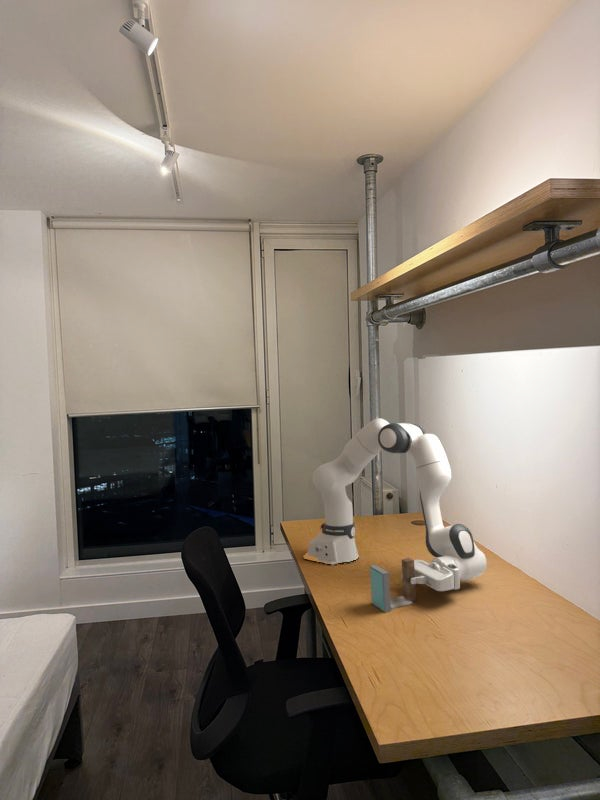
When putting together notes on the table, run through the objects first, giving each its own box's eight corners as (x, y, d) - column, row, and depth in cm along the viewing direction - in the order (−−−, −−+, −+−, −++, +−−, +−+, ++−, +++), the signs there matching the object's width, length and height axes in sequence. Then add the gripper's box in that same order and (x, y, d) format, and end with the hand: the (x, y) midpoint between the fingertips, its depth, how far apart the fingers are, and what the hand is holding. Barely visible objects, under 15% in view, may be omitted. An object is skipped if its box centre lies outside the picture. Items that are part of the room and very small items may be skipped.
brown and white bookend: (408, 596, 182) (406, 556, 182) (418, 602, 177) (416, 561, 176) (382, 602, 178) (380, 562, 178) (391, 608, 173) (389, 567, 173)
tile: (377, 602, 179) (375, 564, 178) (390, 611, 172) (388, 572, 171) (371, 603, 178) (369, 566, 178) (384, 612, 171) (382, 573, 170)
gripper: (423, 552, 193) (388, 559, 188) (462, 570, 174) (424, 579, 169) (423, 570, 193) (389, 578, 188) (463, 590, 175) (425, 599, 169)
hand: (406, 578), depth 178 cm, fingers closed on brown and white bookend, 3 cm apart
